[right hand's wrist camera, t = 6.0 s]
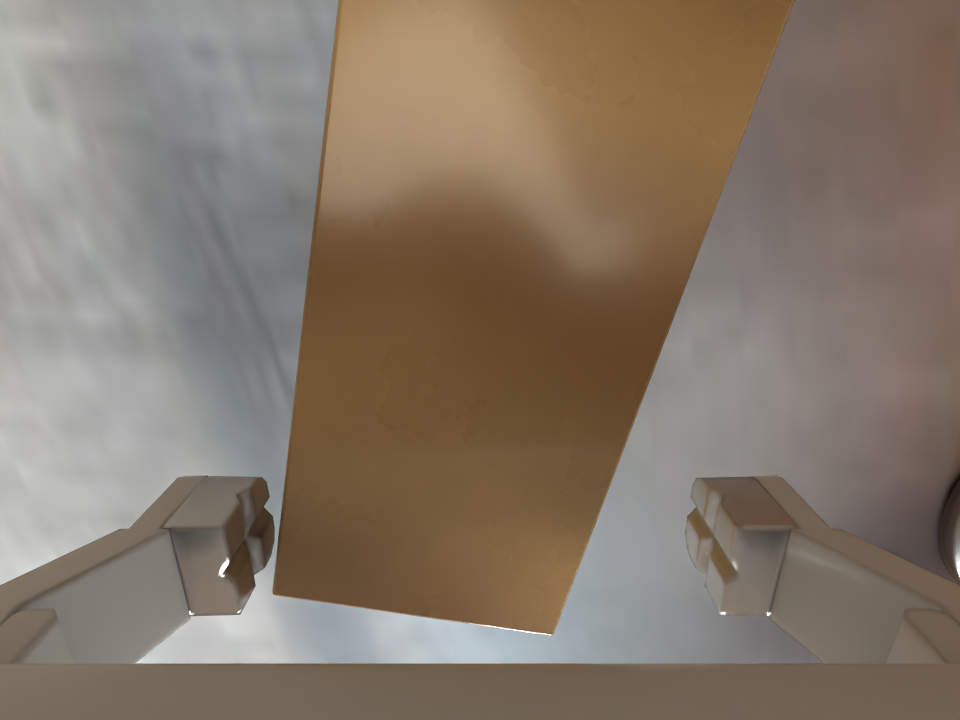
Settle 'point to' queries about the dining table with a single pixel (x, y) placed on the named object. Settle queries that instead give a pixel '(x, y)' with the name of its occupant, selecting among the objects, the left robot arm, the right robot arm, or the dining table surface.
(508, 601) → the bar
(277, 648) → the dining table surface
